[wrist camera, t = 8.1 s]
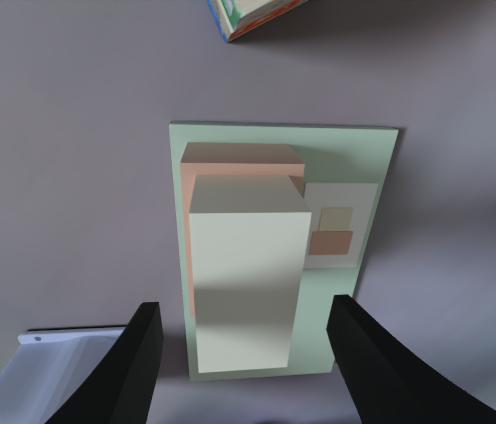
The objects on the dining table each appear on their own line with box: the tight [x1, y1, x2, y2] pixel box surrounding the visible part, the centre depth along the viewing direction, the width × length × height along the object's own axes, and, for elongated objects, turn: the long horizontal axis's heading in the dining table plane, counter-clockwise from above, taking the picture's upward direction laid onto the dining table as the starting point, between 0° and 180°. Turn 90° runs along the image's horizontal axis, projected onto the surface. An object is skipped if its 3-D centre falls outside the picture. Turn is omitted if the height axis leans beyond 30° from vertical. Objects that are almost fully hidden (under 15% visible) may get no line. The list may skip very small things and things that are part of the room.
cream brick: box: [189, 175, 312, 373], centre depth 14 cm, size 4×9×4 cm, turn 177°
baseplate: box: [169, 121, 399, 382], centre depth 21 cm, size 14×24×5 cm, turn 177°
